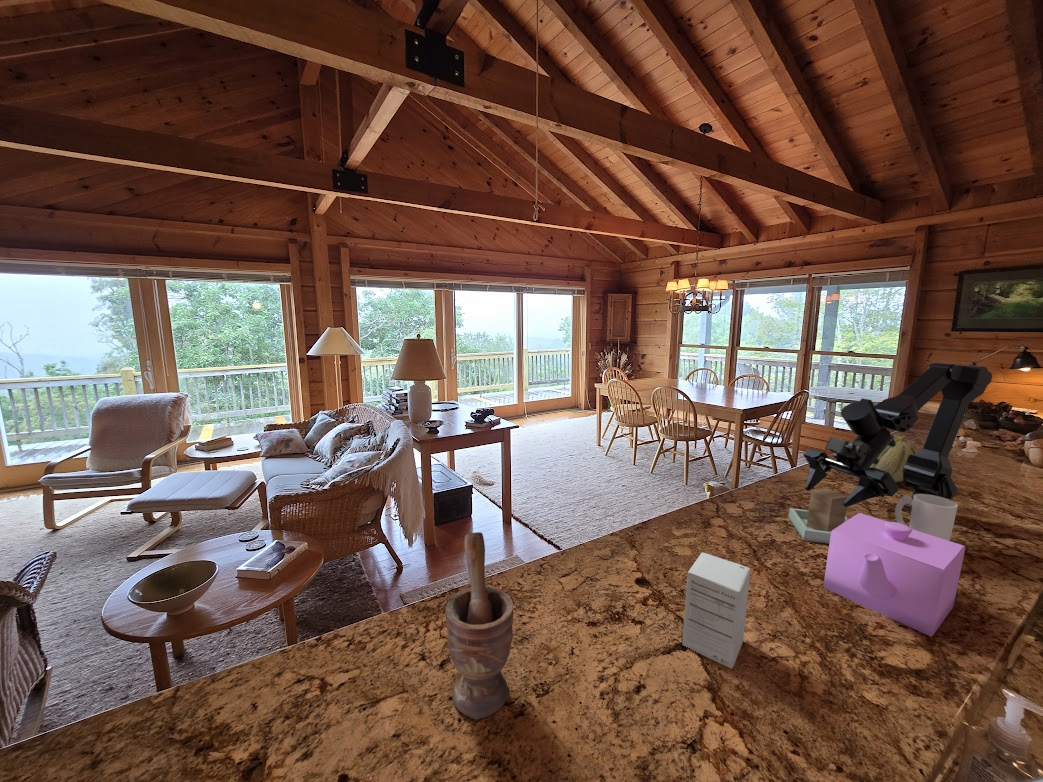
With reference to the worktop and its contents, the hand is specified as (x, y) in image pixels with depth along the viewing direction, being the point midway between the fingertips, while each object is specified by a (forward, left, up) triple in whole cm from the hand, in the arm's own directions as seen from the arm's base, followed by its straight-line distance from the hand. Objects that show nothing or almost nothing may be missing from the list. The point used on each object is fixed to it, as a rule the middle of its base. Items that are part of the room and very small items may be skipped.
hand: (824, 497), depth 99 cm
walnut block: (-1, +1, -8) cm, 8 cm away
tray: (-1, +1, -9) cm, 9 cm away
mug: (+1, +18, -9) cm, 20 cm away
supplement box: (+45, -28, -9) cm, 54 cm away
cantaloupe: (-45, +32, -9) cm, 55 cm away
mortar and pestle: (+63, -60, -9) cm, 88 cm away
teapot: (+24, +2, -9) cm, 26 cm away
